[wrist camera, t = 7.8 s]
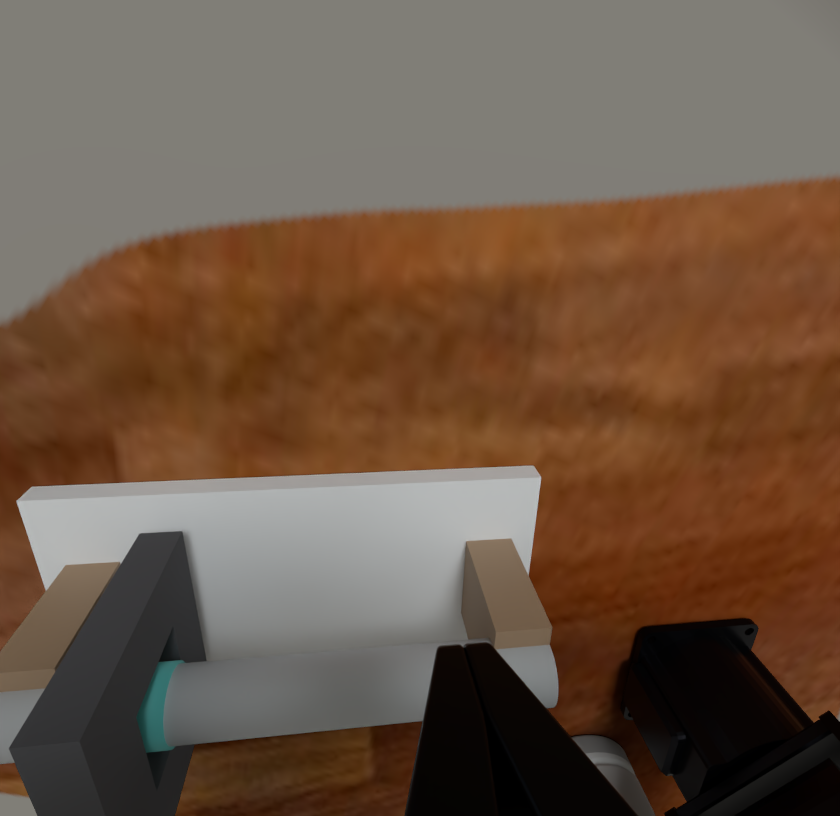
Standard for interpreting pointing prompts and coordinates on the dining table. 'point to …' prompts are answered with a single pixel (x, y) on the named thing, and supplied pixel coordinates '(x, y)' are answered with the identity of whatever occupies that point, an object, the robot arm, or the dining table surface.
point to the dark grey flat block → (114, 695)
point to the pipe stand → (295, 594)
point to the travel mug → (616, 770)
